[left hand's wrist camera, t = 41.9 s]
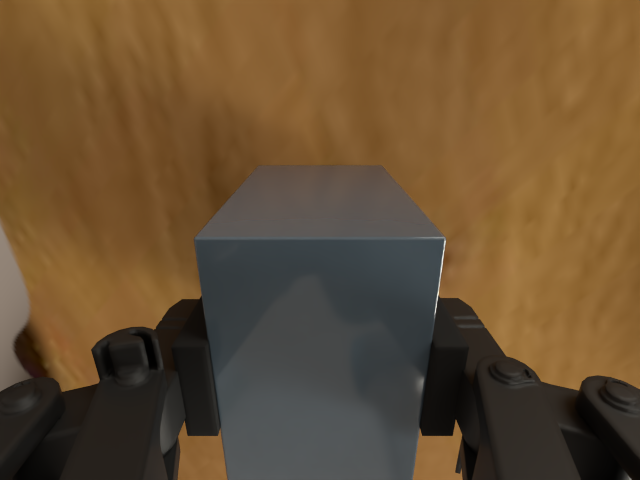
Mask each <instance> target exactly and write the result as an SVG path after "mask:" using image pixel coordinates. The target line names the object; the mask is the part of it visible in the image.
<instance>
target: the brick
mask: <svg viewBox="0 0 640 480" xmlns="http://www.w3.org/2000/svg"><path fill="white" fill-rule="evenodd" d="M194 244H195V251H196V258H197V265H198V272H199V280H200V287H201V294H202V301H203V308H204V315H205V322H206V329H207V337H208V343H209V350H210V358H211V365H212V372H213V379H214V386H215V393H216V400H217V408H218V415H219V422H220V429H221V436H222V443H223V451H224V458H225V465H226V472H227V479H228V480H413V474H414V466H415V459H416V452H417V445H418V438H419V430H420V423H421V416H422V409H423V401H424V394H425V387H426V380H427V373H428V366H429V358H430V351H431V344H432V337H433V330H434V323H435V315H436V308H437V301H438V294H439V287H440V280H441V272H442V265H443V258H444V251H445V244H446V237H445V236H444V235H443V234H442V233H441V232H440V230H439V229H438V228H437V227H436V226H435V225H434V224H433V223H432V221H431V220H430V219H429V218H428V217H427V216H426V215H425V214H424V212H423V211H422V210H421V209H420V208H419V207H418V206H417V205H416V203H415V202H414V201H413V200H412V199H411V198H410V197H409V196H408V194H407V193H406V192H405V191H404V190H403V189H402V188H401V186H400V185H399V184H398V183H397V182H396V181H395V180H394V179H393V177H392V176H391V175H390V174H389V173H388V172H387V171H386V170H385V168H384V167H383V166H381V165H259V166H258V167H257V168H256V169H255V170H254V171H253V172H252V173H251V174H250V176H249V177H248V178H247V179H246V180H245V181H244V182H243V183H242V185H241V186H240V187H239V188H238V189H237V190H236V191H235V192H234V194H233V195H232V196H231V197H230V198H229V199H228V200H227V201H226V202H225V204H224V205H223V206H222V207H221V208H220V209H219V210H218V211H217V213H216V214H215V215H214V216H213V217H212V218H211V219H210V220H209V221H208V223H207V224H206V225H205V226H204V227H203V228H202V229H201V230H200V232H199V233H198V234H197V235H196V236H195V237H194Z"/></svg>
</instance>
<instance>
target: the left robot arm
mask: <svg viewBox="0 0 640 480" xmlns="http://www.w3.org/2000/svg"><path fill="white" fill-rule="evenodd" d="M91 351H92V354H93V358H94V361H95V364H96V368H97V371H98V375H99V378H100V381H99V383H98V384H95V385H91V386H87V387H83V388H78V389H74V390H69V391H65V392H62V391H61V388H60V386H59V383H58V382H57V381H56V380H54V379H53V378H47V377H39V378H32V379H28V380H25V381H22V382H19V383H16V384H14V385H12V386H10V387H8V388H6V389H4V390H2V391H1V392H0V480H177V478H178V468H179V458H180V445H179V440H178V435H179V432H180V430H181V428H182V425H183V423H184V420H185V424H186V429H187V435H188V436H218V434H219V430H220V422H219V415H218V408H217V400H216V393H215V386H214V379H213V372H212V365H211V358H210V350H209V343H208V337H207V329H206V322H205V315H204V308H203V301H202V296H201V297H200V299H182V300H181V301H179V302H178V303H176V304H175V305H173V306H172V307H171V308H169V310H168V311H167V312H166V314H165V315H164V317H163V318H162V321H160V322H159V324H158V325H157V327H156V329H154V330H153V329H150V328H146V327H130V328H126V329H122V330H118V331H116V332H114V333H111V334H109V335H107V336H105V337H104V338H103V339H101V340H100V341H98V342H97V343H96V344H95V346H94V347H93V348H92V349H91ZM455 420H457V423H458V425H459V427H460V430H461V432H462V440H461V445H460V450H459V455H458V460H457V465H456V471H455V473H459V474H460V472H461V467H462V477H463V480H640V389H638V388H636V387H634V386H632V385H630V384H628V383H626V382H624V381H621V380H618V379H614V378H611V377H605V376H591V377H587V378H586V379H585V380H583V381H582V384H581V387H580V389H579V391H578V390H574V389H569V388H565V387H560V386H556V385H551V384H548V383H544V382H541V381H540V379H539V377H538V376H537V375H536V373H535V372H534V371H533V370H532V369H531V368H529V367H528V366H527V365H526V364H524V363H522V362H520V361H518V360H516V359H514V358H510V357H506V355H505V354H504V353H503V351H502V350H501V348H500V347H499V346H498V344H497V343H496V341H495V340H494V339H493V337H492V336H491V334H490V333H489V332H488V330H487V329H486V328H485V327H484V325H483V323H482V322H481V320H480V319H478V316H477V315H476V313H475V312H474V311H473V309H472V308H471V307H470V306H469V305H467V304H466V303H464V302H463V301H462V300H460V299H459V298H440V297H439V295H438V301H437V308H436V315H435V323H434V330H433V337H432V344H431V351H430V358H429V366H428V373H427V380H426V387H425V394H424V401H423V409H422V416H421V423H420V429H421V433H422V436H453V431H454V426H455Z"/></svg>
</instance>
